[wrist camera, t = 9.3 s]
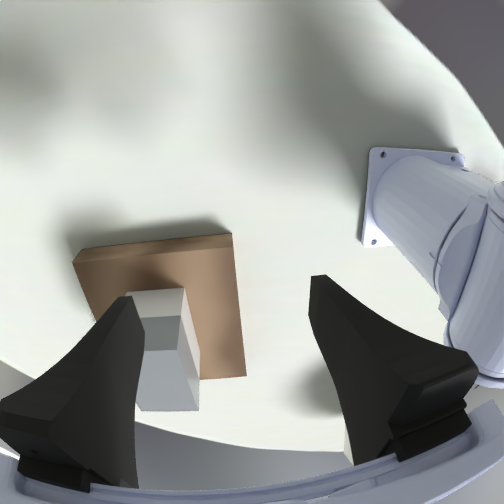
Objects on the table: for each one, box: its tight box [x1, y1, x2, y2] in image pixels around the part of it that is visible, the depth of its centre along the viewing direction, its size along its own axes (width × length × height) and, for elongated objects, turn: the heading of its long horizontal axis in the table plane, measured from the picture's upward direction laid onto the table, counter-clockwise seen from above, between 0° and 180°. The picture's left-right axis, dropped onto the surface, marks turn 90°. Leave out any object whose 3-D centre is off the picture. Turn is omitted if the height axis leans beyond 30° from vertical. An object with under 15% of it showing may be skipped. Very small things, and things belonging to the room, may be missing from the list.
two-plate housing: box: [125, 288, 200, 411], centre depth 21 cm, size 4×7×6 cm, turn 3°
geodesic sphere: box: [344, 424, 354, 466], centre depth 31 cm, size 15×14×14 cm
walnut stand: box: [72, 233, 247, 380], centre depth 24 cm, size 12×14×2 cm
